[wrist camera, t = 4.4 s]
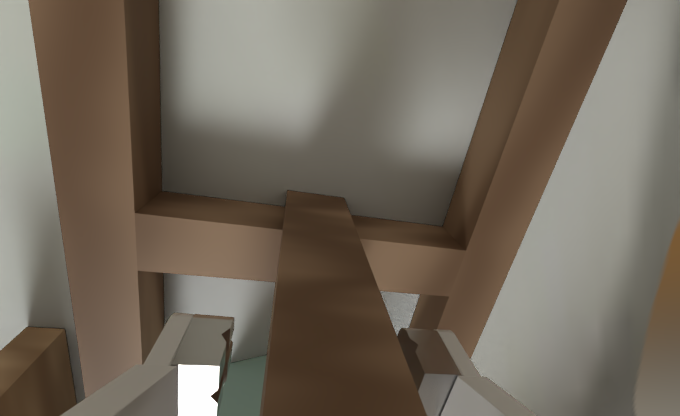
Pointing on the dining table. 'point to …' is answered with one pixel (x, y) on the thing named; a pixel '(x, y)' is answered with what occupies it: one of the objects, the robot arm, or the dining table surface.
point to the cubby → (36, 374)
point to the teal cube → (243, 388)
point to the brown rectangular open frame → (294, 211)
